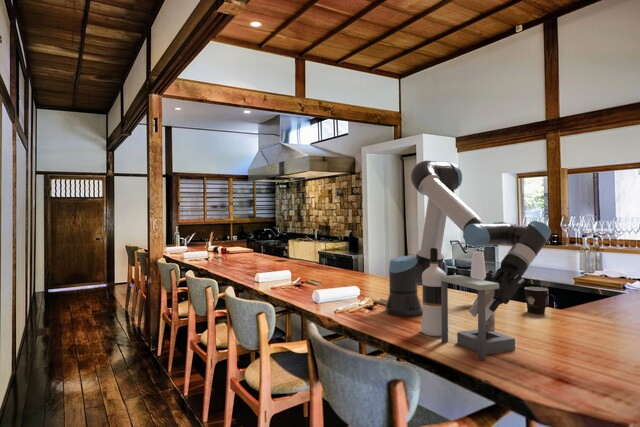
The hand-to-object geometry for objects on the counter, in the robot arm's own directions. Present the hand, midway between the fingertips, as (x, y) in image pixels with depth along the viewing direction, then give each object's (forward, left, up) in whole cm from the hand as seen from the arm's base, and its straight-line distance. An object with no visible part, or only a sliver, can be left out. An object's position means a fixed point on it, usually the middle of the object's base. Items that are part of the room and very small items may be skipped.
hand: (477, 315), depth 129 cm
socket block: (+2, +2, -10) cm, 11 cm away
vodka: (-15, +10, -10) cm, 21 cm away
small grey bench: (-2, -2, -10) cm, 11 cm away
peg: (+3, +3, -5) cm, 6 cm away
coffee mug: (+20, +56, -10) cm, 61 cm away
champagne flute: (-4, +66, -10) cm, 67 cm away
